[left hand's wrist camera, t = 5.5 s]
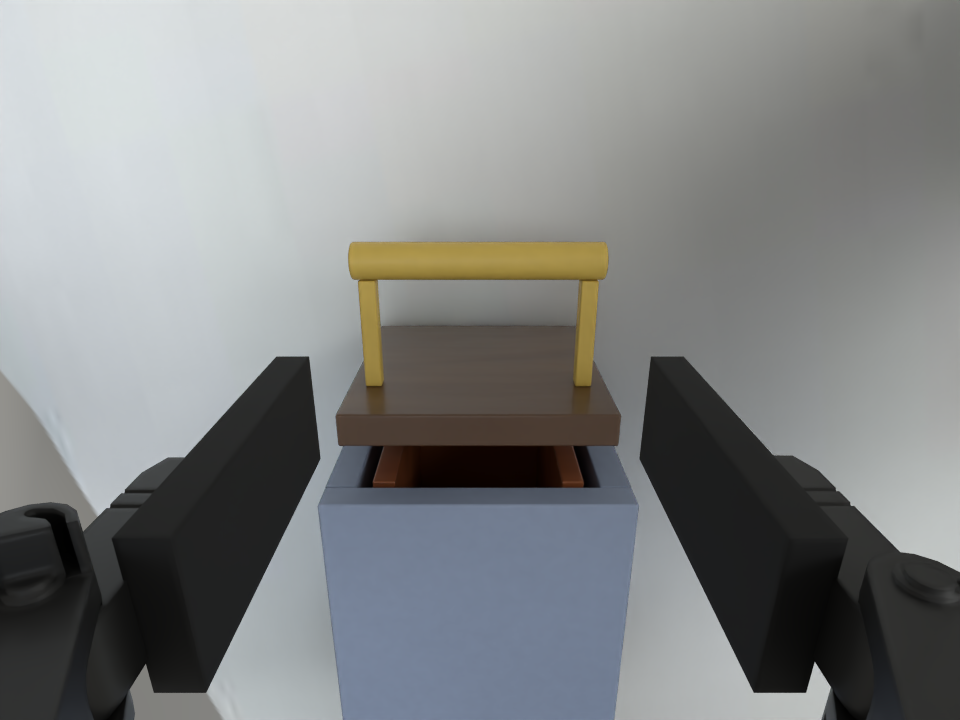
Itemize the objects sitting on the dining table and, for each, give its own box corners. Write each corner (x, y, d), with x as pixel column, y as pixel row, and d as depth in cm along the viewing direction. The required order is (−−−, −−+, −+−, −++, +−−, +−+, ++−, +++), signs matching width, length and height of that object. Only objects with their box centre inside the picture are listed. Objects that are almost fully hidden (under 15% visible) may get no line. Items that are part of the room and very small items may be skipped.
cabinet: (375, 370, 30) (316, 505, 19) (581, 370, 30) (639, 505, 19) (394, 639, 37) (358, 853, 26) (563, 639, 37) (599, 853, 26)
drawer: (373, 215, 27) (319, 257, 18) (583, 215, 27) (637, 257, 18) (398, 599, 35) (369, 764, 26) (559, 599, 35) (587, 764, 26)
